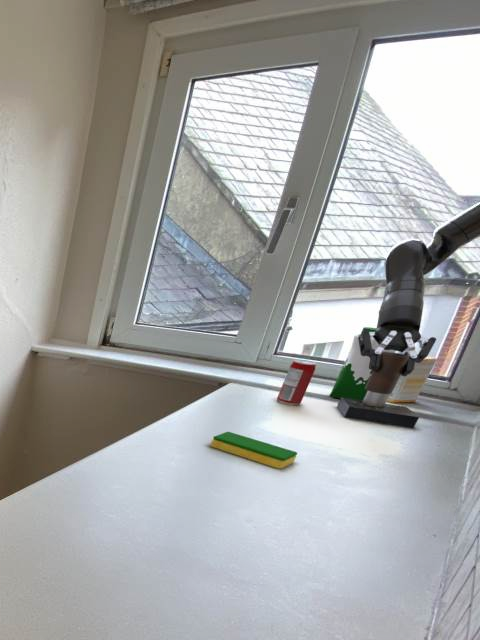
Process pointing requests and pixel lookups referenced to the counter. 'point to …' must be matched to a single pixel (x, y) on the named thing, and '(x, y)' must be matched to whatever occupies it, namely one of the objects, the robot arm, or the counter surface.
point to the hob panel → (377, 413)
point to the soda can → (296, 382)
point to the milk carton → (355, 372)
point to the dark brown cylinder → (387, 373)
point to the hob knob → (375, 399)
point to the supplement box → (412, 382)
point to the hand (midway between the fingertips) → (390, 372)
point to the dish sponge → (254, 449)
